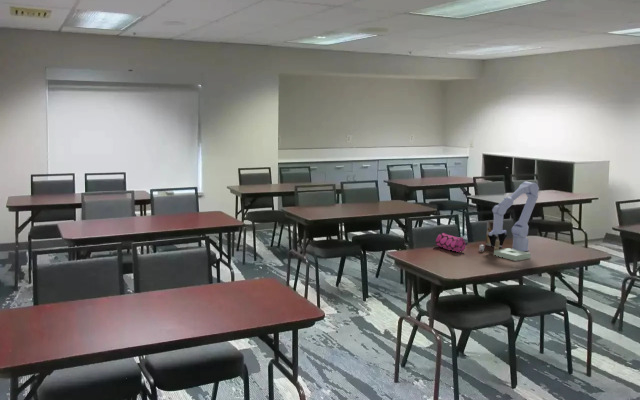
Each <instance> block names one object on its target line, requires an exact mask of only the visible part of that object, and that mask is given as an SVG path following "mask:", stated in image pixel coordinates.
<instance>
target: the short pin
mask: <svg viewBox="0 0 640 400" xmlns="http://www.w3.org/2000/svg"><path fill="white" fill-rule="evenodd" d="M485 247H486V244H479V249H478V251H484V252H485Z"/></svg>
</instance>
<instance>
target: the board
mask: <svg viewBox="0 0 640 400" xmlns="http://www.w3.org/2000/svg"><path fill="white" fill-rule="evenodd" d="M494 255H496V256H495V257H498V256H499V257H500V258H502V257H503V259H507V260H511V261H523V260H527V259H531V257H532V252H528V251H519V250H515V249H513V248H510V247H507V248H499V250H494V249H493V256H494ZM499 257H498V258H499Z"/></svg>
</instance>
